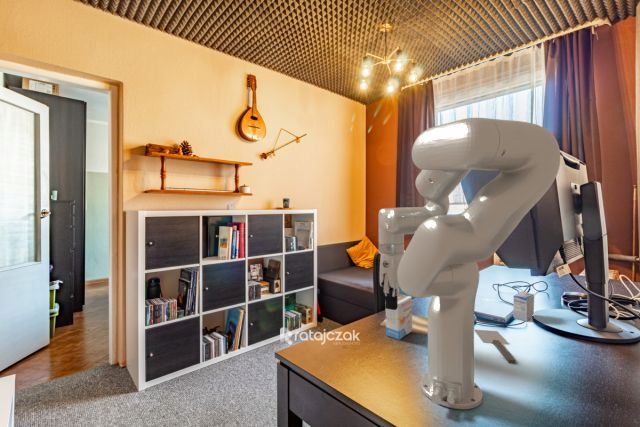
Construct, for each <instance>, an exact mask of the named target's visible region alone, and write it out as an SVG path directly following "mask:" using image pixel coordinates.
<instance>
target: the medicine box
mask: <svg viewBox="0 0 640 427" xmlns="http://www.w3.org/2000/svg"><path fill="white" fill-rule="evenodd" d="M534 304H535V294H534V293H531V292H525V291H524V292H523V291H520V292H518V293H516V294H515V295H513V304H512V305H513V306H512V307H513V310H512V311H513V314H512V316H513V317H514V318H513V317H512V318H513V319H514V320H517V321H518V320H519V321H522V322H528V321H530V320H531V319H532V318H533V317H532V315H533V314H535V312H534V309H535V307H534V306H535V305H534Z"/></svg>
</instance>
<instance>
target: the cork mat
mask: <svg viewBox="0 0 640 427" xmlns="http://www.w3.org/2000/svg"><path fill="white" fill-rule="evenodd" d="M379 326H380V327H384V328H386V318H385V319H384V320H383V321H382V322H381V323H379ZM410 333H413V334H417V335H422V336H427V337H428V316H424V315H416V314H412V331H411V332H410Z"/></svg>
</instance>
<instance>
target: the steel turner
mask: <svg viewBox="0 0 640 427" xmlns="http://www.w3.org/2000/svg"><path fill="white" fill-rule="evenodd" d="M474 333H475V334H476V335H477V336H478V337H479V339H480V340H481V342H482V343H488V344H493V345H494V346H495V348H496V349H497V350H498V351H499V353H500V354H501V355H502V357H503V358H504V359H505V360H506V361H507V363H508V364H512V365H513V364H514V365H516V364H517V360H516V359H515V358H514V356H513V355H512V354H511V353H510V351H508V350H507V348H506V347H505V346H504V345H509V342H508V341H507V340H506V339H505V338H504V337H503V335H501V333H500V332H499V331H497V330H486V329H485V330H484V329H474Z"/></svg>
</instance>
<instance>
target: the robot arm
mask: <svg viewBox="0 0 640 427" xmlns="http://www.w3.org/2000/svg"><path fill="white" fill-rule="evenodd" d="M411 159H412V162H413V164H414V166H416V167H417V168H418V169H420V170H421V171H420V172H419V173H418V175H417V177H416V178H415V182H414V183H415V188H416V189H417V191H418V193H419V194H420V195H421V196H422V197H423V198H425V199H426V200H427V201H428V202H427V203H426V204H425V205H424V206H414V207H413V206H411V207H410V206H409V207H407V206H405V207H402V206H401V207H386V208H384V207H383V208H380V210H379V211H378V216H377V217H378V255H379V254H380V259H379V260H380V261H379V286H380V287H381V288H383V293H384V296H385V301H386V305H385V310H386V309H391V310H396V309H397V308H398V301H397V296H396V295H397V294H398V287H399V289H401V291H403V292H404V293H405V295H406V296H410V297H412V298H416V299H423V298H431V299H430V301H429V305H428V307H427V309H428V310H427V317H428V336H427V373H426V374H424V375H423V376H422V377H421V379H420V388H421V391H422V392H423V394H424V395H425V396H426V397H427V398H429V399H430V400H431V401H432V403H433V404H435V405H441V406H444V407H447V408H450V409H456V410H469V409H474V408H476V407H478V406H480V405H481V404H482V403H483V391H482V390H481V388H480V387H479V385H478V384H477V383H476V382H475V331H474V330H475V306H476V297H477V292H478V288H479V282H480V269H479V265H478V263H482V262H484V261H487V260H488V259H490V258H491V257H492V256H493V255H495V253H496V252H497V250H498V249H499V248H500V247H501V246H502V245H503V243H504V242H505V241H506V240H507V239H508V237H509V236H511V234H512V232H514V230H515V229H516V228H517V226H518V225H519V224H520V222H521V221H522V220H523V219H524V217H525V216H526V215H527V214H528V213H529V212H530V210H531V209H533V208H534V206H536V204H537V203H538V202H539V201H540V200H541V198H543V197H544V195H545V194H546V193H548V192H547V191H549V189H550V188H551V187H552V185H553V183H554V182H555V180H556V177H557V175H558V173H559V170H560V166H561V149H560V146H559V143H558V140H557V139H556V137H555V136H554V135H553V134H552V132H550V130H548V129H547V128H545V127H543V126H541V125H539V124H535V123H532V122H527V121H523V120H522V121H519V120H511V119H499V118H497V119H496V118H488V117H468V118H462V119H458V120H455V121H451V122H448V123H444V124H440V125H436V126H435V125H434V126H432V127H429V128H427V129H425V130H423V131H422V132H420V134H419V135H418V136H417V138H416V139H415V140H414V143H413V145H412V149H411ZM472 170H473V171H475V170H477V171H500V173H499V174H498V175H497V176H495V177H494V178H493V179H492V180H490V181H489V182H488V183H486V184H485V185H483V187H482V188H481V189H480V190H479V191H477V193H476V194H475V196H474V197H473V199H472V200H471V203H470V204H469V205H468V206H467V207H466V209H465V210H464V211H463V212H461V213H458V214H448V212H449V208H450V198H449V196H450V195H451V193H452V192H453V191H454V190H455V189H456V188H457V186H458V185H460V184H461V182H462V181H463V180H464V179H465V178H466V176H468V174H469V173H470V172H471V171H472ZM405 235H413V236H412V237H411V240H410V241H409V243H408V245H407V247H406V249H405Z"/></svg>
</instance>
